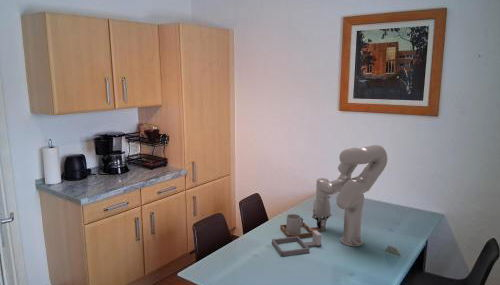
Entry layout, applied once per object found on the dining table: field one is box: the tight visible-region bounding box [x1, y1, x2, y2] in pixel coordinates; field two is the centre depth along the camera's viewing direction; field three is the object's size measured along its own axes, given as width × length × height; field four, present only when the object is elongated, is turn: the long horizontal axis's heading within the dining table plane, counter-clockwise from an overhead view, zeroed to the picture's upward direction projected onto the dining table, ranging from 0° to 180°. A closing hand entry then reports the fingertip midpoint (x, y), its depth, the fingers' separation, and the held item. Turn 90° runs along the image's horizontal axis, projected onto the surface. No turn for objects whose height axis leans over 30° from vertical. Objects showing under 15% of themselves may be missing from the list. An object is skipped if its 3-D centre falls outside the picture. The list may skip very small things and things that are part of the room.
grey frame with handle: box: [271, 230, 322, 257], centre depth 208 cm, size 16×26×7 cm, turn 105°
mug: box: [286, 213, 304, 235], centre depth 226 cm, size 12×8×11 cm
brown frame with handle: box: [279, 217, 327, 239], centre depth 228 cm, size 16×26×7 cm, turn 105°
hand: (321, 226), depth 231 cm, fingers closed on brown frame with handle, 2 cm apart
